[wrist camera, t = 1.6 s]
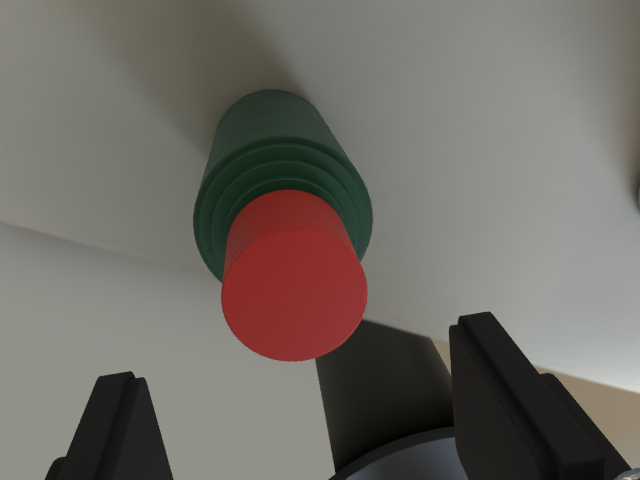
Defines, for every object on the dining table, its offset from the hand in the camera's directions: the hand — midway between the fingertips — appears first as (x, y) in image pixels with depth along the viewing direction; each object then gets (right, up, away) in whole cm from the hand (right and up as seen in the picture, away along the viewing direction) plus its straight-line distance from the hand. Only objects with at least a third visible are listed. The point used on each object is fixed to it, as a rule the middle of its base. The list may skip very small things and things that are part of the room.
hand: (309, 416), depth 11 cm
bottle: (-2, +8, +23) cm, 24 cm away
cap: (-1, +3, +9) cm, 9 cm away
